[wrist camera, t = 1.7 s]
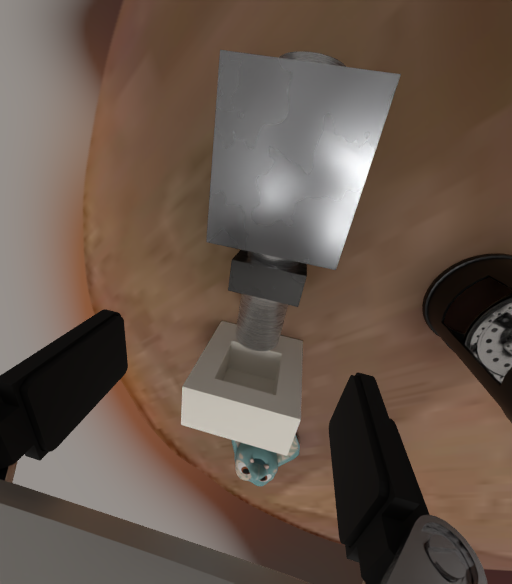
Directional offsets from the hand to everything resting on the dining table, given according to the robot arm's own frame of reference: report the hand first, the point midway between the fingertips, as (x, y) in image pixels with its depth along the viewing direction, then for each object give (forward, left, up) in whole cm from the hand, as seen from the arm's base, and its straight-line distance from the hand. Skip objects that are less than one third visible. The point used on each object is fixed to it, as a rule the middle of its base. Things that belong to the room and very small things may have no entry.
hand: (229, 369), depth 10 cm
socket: (+12, 0, -17) cm, 21 cm away
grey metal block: (-7, 0, -17) cm, 18 cm away
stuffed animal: (+27, +4, -17) cm, 32 cm away
